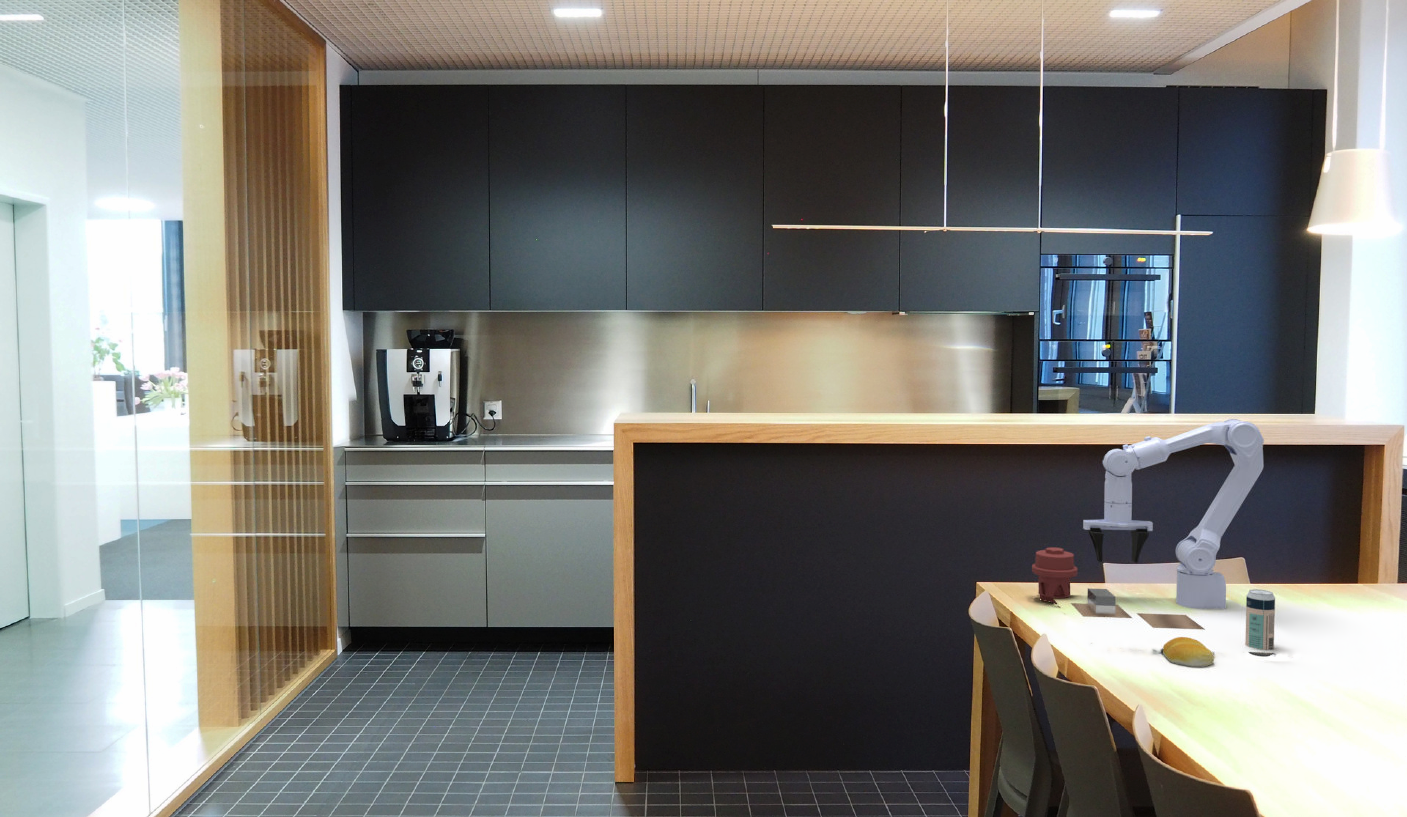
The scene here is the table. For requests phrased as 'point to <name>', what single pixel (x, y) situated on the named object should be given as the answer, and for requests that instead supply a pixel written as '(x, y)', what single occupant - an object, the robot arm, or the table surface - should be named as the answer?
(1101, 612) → the block
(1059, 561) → the mechanical component
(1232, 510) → the robot arm
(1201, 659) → the bread roll
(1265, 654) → the beer can
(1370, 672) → the table surface
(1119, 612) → the stand
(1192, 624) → the stand
